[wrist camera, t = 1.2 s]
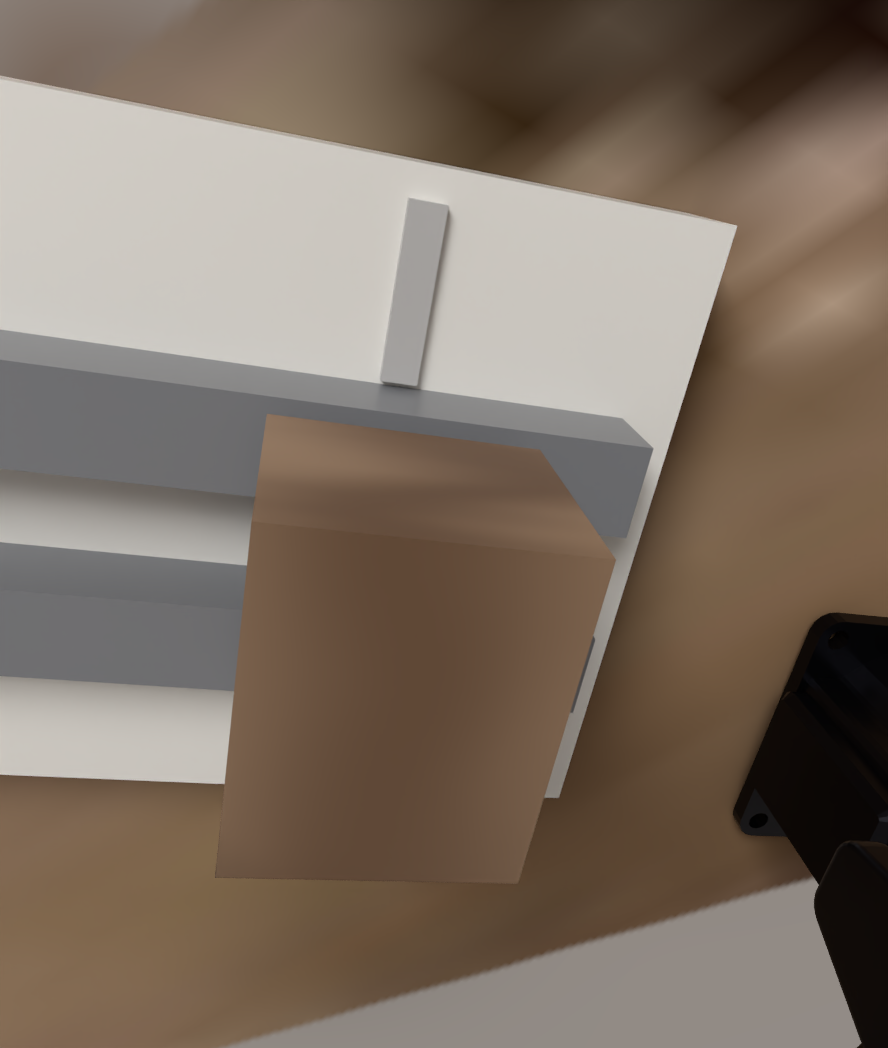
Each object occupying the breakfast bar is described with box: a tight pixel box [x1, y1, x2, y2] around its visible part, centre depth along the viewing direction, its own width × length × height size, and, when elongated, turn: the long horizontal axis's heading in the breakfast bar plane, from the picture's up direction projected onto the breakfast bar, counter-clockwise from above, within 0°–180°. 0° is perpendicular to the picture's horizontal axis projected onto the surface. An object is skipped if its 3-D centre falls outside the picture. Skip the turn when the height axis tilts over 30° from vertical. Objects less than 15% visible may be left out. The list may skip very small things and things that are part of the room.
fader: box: [215, 414, 616, 884], centre depth 12 cm, size 4×5×5 cm
